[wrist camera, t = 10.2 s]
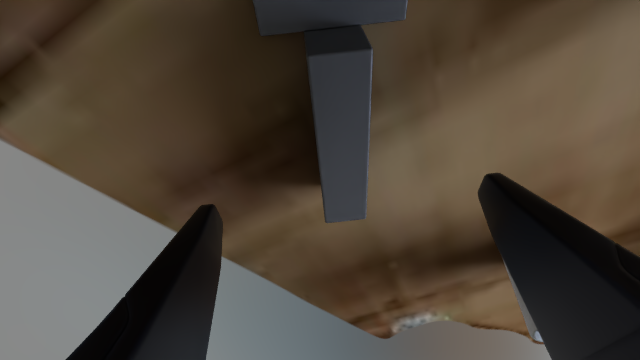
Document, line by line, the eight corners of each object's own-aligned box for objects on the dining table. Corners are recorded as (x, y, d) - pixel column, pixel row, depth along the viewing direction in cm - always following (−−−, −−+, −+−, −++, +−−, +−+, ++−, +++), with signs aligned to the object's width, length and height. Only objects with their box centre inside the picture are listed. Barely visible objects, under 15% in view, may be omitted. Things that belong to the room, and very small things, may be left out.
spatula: (208, -222, 8) (179, -260, 6) (428, -248, 7) (478, -296, 6) (294, 189, 18) (294, 227, 16) (385, 179, 18) (397, 216, 16)
